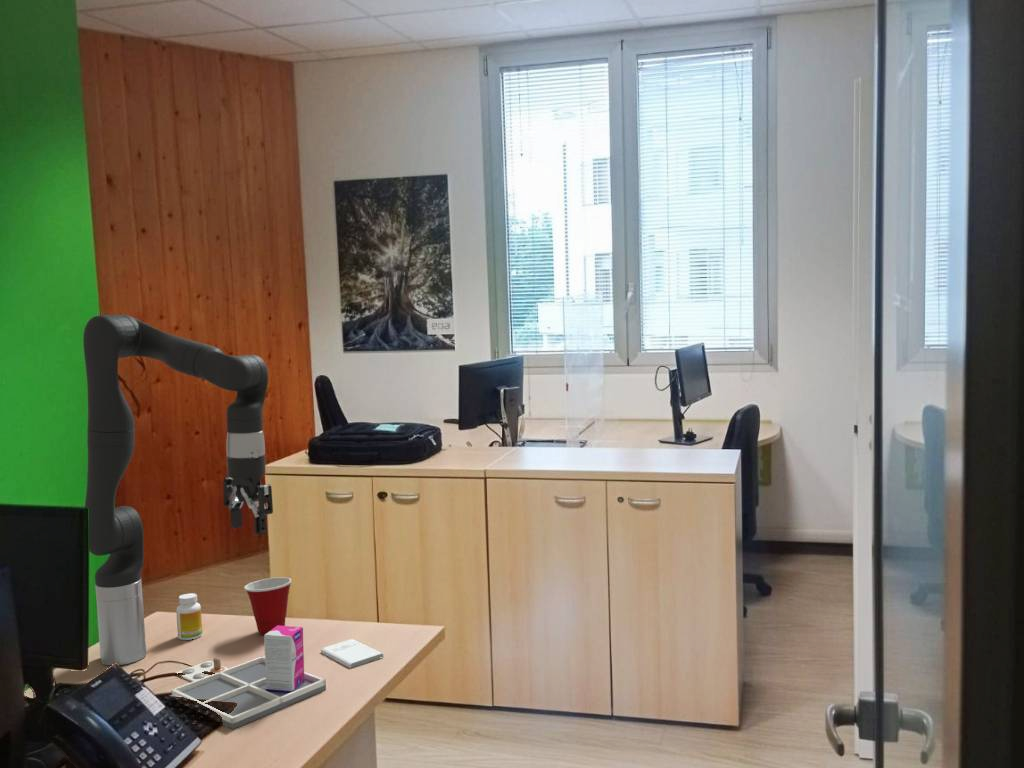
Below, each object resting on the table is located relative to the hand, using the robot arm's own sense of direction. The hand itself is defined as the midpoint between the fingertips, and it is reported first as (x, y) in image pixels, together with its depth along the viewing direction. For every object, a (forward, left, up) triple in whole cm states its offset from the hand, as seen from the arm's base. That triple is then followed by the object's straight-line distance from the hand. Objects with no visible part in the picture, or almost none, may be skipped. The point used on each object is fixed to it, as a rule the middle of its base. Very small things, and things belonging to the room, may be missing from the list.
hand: (248, 530), depth 186 cm
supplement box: (+13, -2, -29) cm, 32 cm away
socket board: (+8, -7, -30) cm, 32 cm away
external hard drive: (+9, +18, -31) cm, 37 cm away
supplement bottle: (-31, +3, -30) cm, 43 cm away
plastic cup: (-18, +16, -30) cm, 39 cm away
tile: (-9, -7, -30) cm, 32 cm away
